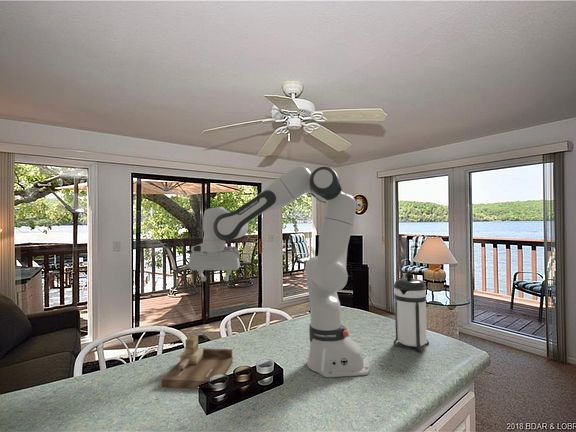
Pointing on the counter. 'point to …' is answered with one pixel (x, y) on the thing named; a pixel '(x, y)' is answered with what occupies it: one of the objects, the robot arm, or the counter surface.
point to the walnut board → (199, 369)
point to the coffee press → (410, 312)
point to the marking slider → (191, 352)
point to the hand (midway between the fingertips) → (214, 281)
